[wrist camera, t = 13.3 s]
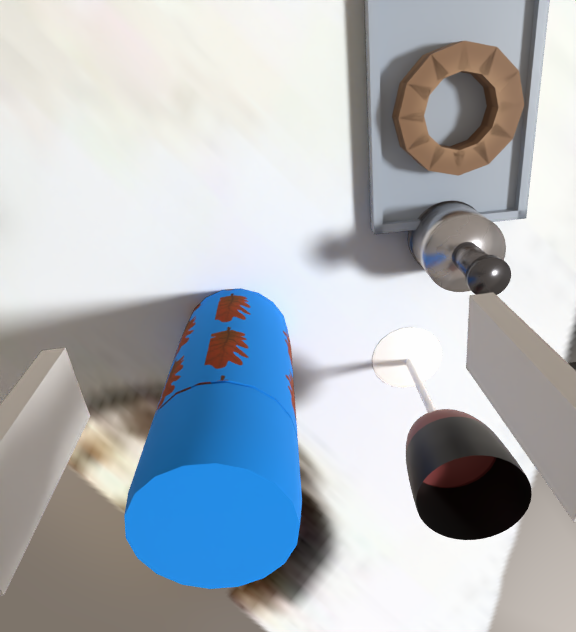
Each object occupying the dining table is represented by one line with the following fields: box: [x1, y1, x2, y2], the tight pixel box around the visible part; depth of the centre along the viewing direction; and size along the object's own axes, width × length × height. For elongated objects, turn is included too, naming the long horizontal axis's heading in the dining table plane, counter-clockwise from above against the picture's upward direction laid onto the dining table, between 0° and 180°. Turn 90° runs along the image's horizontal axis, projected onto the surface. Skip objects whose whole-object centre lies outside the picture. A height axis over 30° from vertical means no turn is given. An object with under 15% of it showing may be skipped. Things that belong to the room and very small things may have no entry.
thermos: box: [125, 289, 302, 589], centre depth 41 cm, size 11×11×25 cm
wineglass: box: [372, 327, 531, 540], centre depth 46 cm, size 8×9×20 cm
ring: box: [392, 41, 524, 176], centre depth 42 cm, size 10×10×2 cm
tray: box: [365, 0, 550, 234], centre depth 43 cm, size 14×20×2 cm
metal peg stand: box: [408, 201, 511, 295], centre depth 44 cm, size 7×7×11 cm
